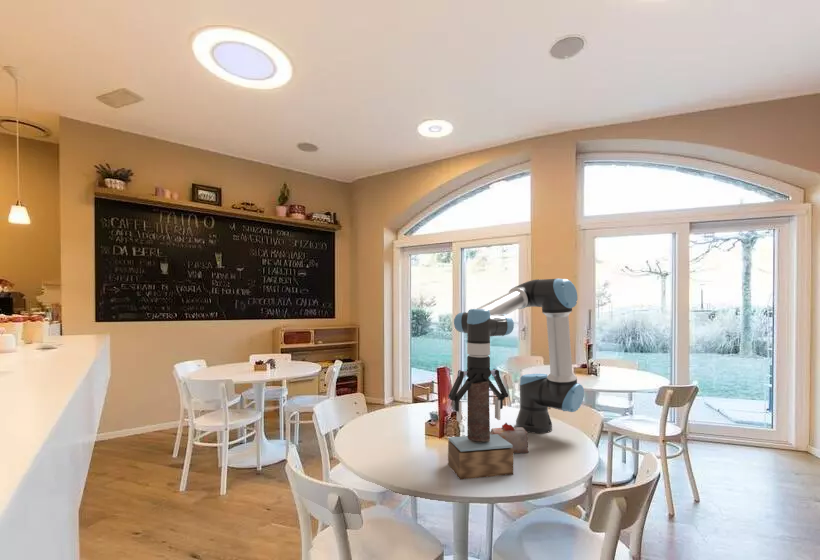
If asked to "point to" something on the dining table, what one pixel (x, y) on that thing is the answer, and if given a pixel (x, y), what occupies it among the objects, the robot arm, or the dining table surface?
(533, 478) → the dining table surface
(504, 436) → the food item
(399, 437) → the dining table surface
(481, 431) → the candle
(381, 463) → the dining table surface
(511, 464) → the box
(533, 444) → the dining table surface
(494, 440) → the lid
